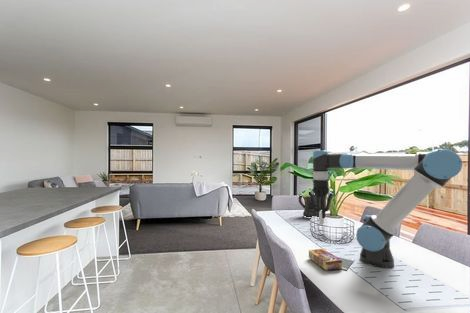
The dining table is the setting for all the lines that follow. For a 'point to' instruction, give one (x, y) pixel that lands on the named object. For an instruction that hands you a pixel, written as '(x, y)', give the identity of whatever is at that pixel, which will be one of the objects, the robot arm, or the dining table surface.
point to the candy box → (325, 259)
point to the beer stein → (308, 207)
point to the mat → (345, 263)
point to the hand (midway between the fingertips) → (321, 223)
